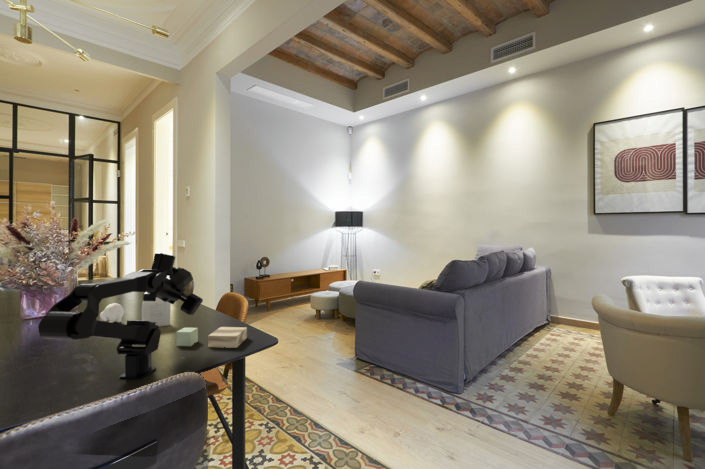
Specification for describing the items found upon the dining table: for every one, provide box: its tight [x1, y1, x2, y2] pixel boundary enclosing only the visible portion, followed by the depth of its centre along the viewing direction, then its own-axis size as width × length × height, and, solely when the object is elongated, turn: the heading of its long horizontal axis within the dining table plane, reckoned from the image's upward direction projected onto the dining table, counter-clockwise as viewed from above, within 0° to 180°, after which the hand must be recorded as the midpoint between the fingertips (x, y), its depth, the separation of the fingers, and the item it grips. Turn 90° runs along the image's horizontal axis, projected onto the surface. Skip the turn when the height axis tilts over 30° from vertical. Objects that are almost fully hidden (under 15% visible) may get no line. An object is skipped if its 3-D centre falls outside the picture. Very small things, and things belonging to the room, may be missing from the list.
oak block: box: [207, 326, 248, 349], centre depth 119 cm, size 10×10×4 cm
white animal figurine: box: [99, 302, 125, 323], centre depth 141 cm, size 6×8×12 cm
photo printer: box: [141, 297, 171, 328], centre depth 136 cm, size 10×4×12 cm, turn 123°
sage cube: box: [176, 327, 199, 347], centre depth 117 cm, size 5×5×5 cm
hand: (187, 299), depth 118 cm, fingers open, 9 cm apart
